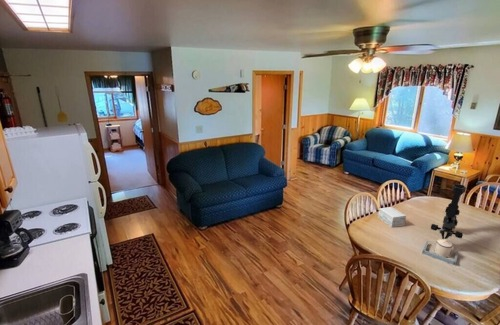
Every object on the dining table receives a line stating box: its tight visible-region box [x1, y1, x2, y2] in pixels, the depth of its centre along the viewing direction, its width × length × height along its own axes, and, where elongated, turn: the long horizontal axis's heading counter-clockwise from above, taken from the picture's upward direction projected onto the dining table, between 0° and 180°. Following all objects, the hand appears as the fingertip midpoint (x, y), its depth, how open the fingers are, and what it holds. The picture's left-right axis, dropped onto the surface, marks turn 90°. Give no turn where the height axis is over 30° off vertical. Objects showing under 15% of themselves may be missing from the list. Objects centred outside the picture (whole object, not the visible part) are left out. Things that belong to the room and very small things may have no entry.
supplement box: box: [377, 206, 407, 228], centre depth 231 cm, size 17×13×9 cm
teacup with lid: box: [434, 238, 453, 258], centre depth 190 cm, size 12×9×12 cm
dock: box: [421, 240, 459, 266], centre depth 190 cm, size 15×19×2 cm
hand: (443, 241), depth 192 cm, fingers closed
